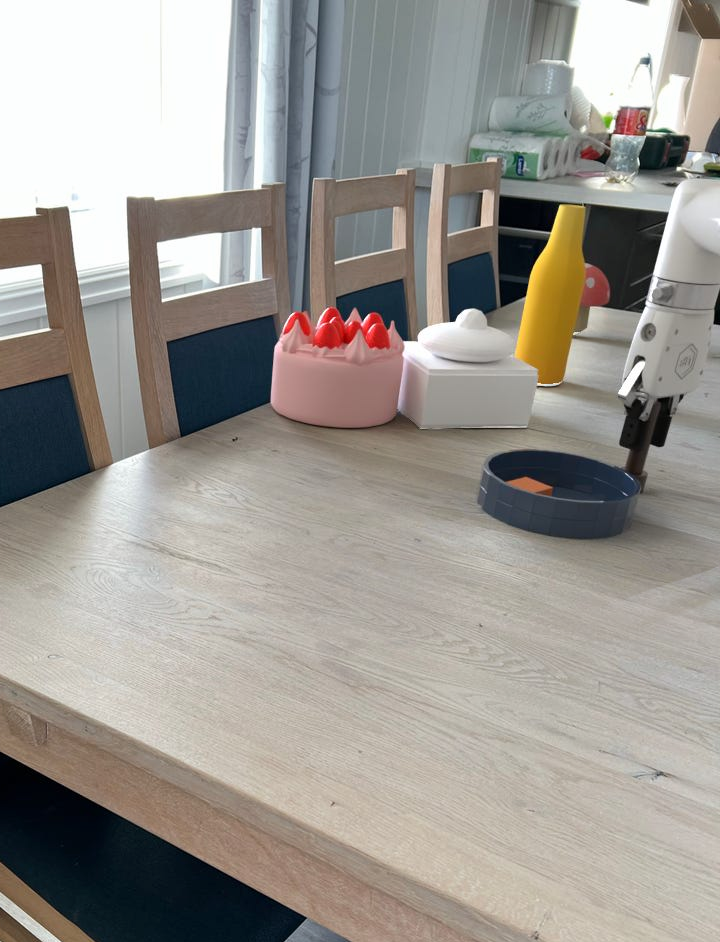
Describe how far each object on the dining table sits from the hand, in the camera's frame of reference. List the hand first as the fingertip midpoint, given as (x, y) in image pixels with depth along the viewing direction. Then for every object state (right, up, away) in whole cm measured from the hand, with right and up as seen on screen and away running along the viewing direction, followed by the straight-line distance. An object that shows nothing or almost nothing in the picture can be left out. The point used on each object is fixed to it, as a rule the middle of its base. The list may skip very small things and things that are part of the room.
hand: (641, 445), depth 123 cm
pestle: (0, -6, +3) cm, 7 cm away
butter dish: (-17, +11, +32) cm, 38 cm away
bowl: (-13, -9, -4) cm, 16 cm away
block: (-17, -10, -8) cm, 22 cm away
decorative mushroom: (+21, +41, +89) cm, 100 cm away
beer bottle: (+3, +22, +52) cm, 57 cm away
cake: (-36, +11, +28) cm, 47 cm away
